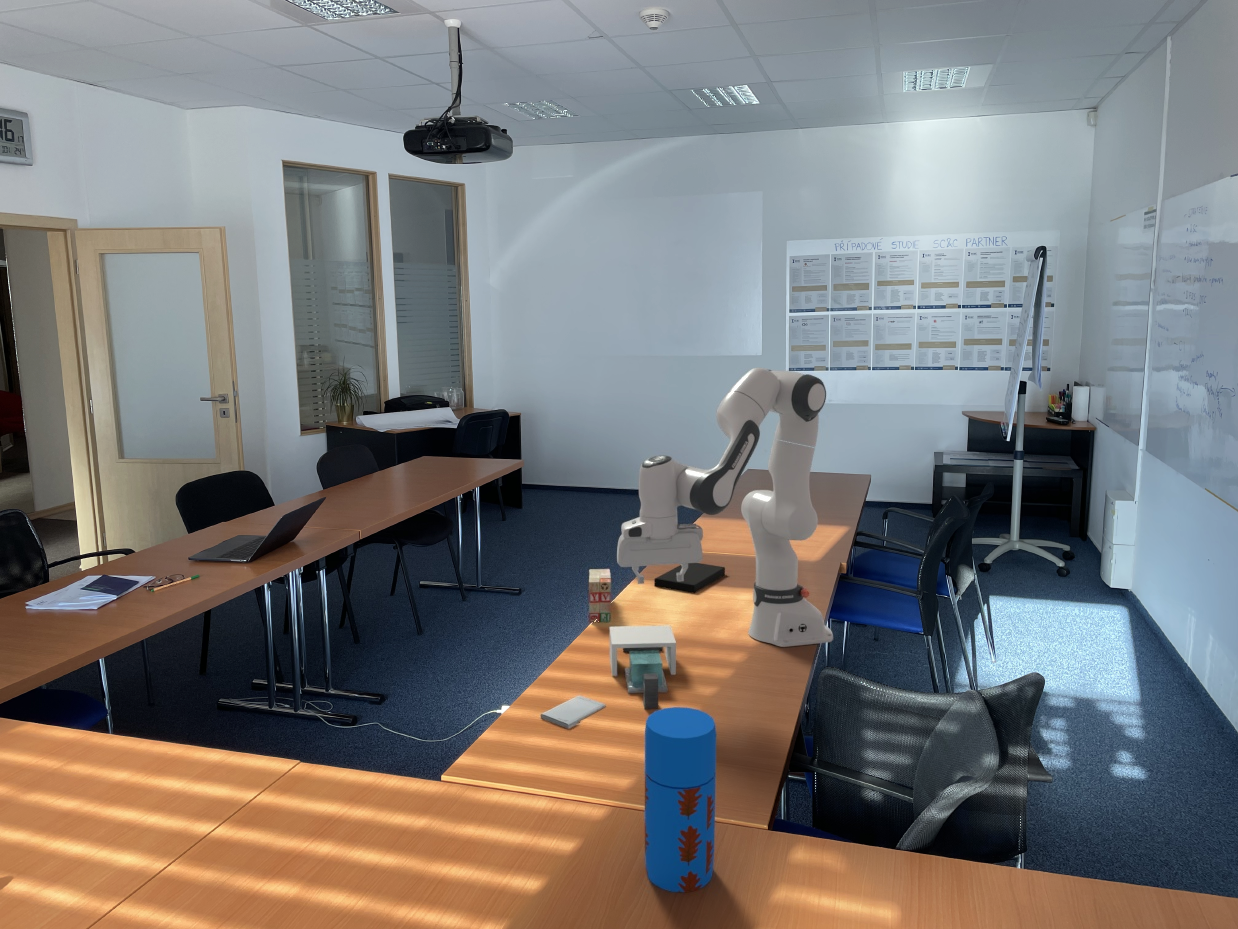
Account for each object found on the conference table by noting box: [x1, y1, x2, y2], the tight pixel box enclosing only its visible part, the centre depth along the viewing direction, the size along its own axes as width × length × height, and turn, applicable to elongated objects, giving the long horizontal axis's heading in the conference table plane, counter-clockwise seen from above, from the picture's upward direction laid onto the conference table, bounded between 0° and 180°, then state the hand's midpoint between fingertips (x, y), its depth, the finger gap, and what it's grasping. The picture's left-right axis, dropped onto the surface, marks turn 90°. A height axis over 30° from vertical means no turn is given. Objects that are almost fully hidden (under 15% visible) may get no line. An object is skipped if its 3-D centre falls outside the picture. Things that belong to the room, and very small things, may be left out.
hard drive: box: [540, 694, 606, 730], centre depth 193 cm, size 2×8×12 cm
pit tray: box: [622, 647, 663, 653], centre depth 230 cm, size 10×5×2 cm, turn 93°
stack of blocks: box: [588, 568, 612, 623], centre depth 260 cm, size 21×6×12 cm, turn 2°
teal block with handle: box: [624, 650, 668, 710], centre depth 204 cm, size 9×20×7 cm, turn 3°
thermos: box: [644, 706, 717, 893], centre depth 137 cm, size 11×11×25 cm
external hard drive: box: [653, 562, 726, 594], centre depth 289 cm, size 14×23×3 cm, turn 149°
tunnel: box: [609, 624, 677, 677], centre depth 218 cm, size 15×12×8 cm
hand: (660, 581), depth 209 cm, fingers open, 8 cm apart
